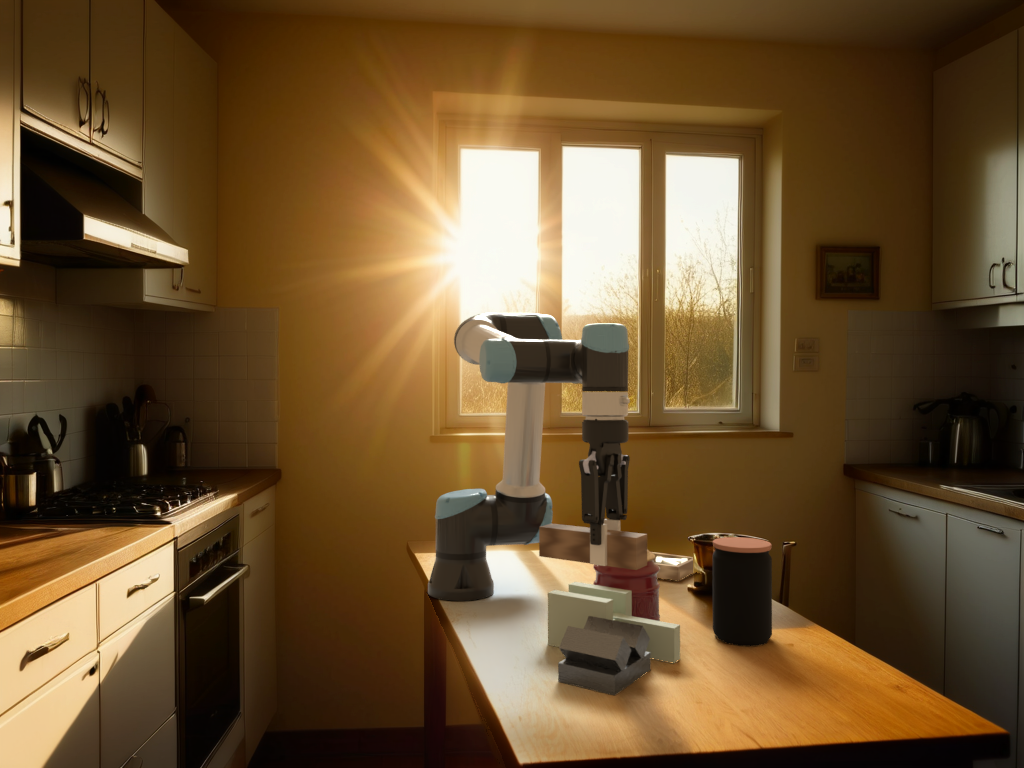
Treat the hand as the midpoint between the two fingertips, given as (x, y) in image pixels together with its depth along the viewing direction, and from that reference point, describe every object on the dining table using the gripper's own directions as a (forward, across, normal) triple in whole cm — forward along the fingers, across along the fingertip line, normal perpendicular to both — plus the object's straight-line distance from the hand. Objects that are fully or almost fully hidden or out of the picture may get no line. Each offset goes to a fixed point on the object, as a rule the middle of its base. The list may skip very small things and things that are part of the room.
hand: (605, 561), depth 127 cm
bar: (0, 0, +2) cm, 3 cm away
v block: (+19, 0, 0) cm, 19 cm away
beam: (+19, +13, +5) cm, 23 cm away
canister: (+19, +26, +9) cm, 33 cm away
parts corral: (+18, +73, +22) cm, 79 cm away
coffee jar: (+19, +32, -12) cm, 39 cm away
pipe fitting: (+19, +74, +20) cm, 79 cm away
